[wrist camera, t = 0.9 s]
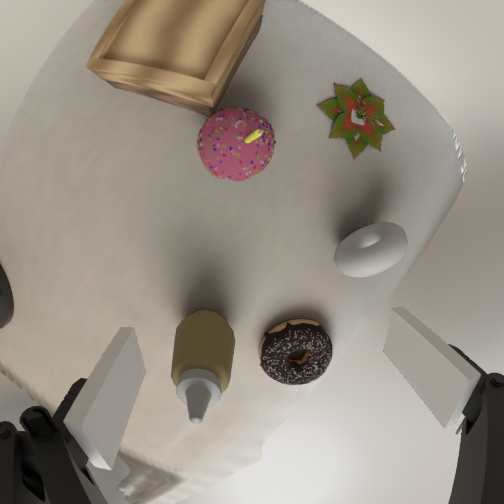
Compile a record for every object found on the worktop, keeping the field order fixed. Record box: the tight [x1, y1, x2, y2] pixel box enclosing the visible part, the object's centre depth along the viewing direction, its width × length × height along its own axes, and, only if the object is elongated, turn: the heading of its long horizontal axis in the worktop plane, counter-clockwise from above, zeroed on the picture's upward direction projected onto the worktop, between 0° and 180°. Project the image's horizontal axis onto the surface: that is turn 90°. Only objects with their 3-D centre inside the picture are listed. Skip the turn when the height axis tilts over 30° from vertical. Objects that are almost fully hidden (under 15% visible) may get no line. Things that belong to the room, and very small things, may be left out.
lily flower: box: [317, 78, 395, 160], centre depth 32 cm, size 12×12×5 cm
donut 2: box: [334, 222, 408, 277], centre depth 33 cm, size 10×3×10 cm, turn 119°
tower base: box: [105, 15, 263, 117], centre depth 27 cm, size 15×15×5 cm
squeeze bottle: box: [171, 309, 235, 423], centre depth 30 cm, size 8×8×18 cm
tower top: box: [85, 0, 265, 107], centre depth 22 cm, size 15×15×5 cm
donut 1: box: [259, 319, 332, 385], centre depth 40 cm, size 11×12×4 cm
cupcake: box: [197, 107, 276, 182], centre depth 28 cm, size 9×8×12 cm
